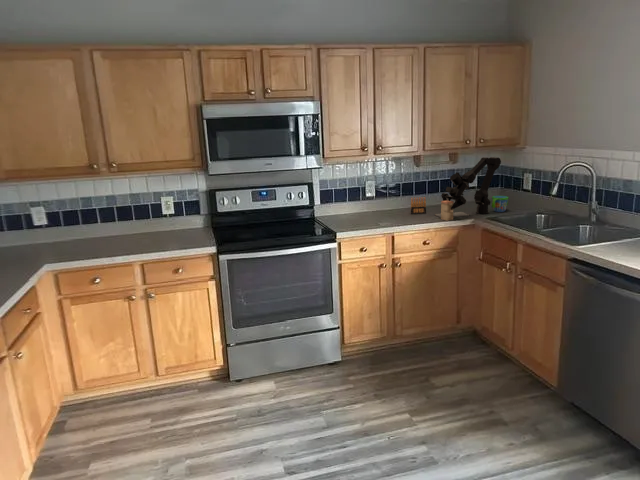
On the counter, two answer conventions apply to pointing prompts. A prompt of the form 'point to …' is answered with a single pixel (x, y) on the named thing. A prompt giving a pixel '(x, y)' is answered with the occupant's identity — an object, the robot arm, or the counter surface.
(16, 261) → the counter surface
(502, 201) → the snack cup
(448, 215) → the birch block
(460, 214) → the rubber mat
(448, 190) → the robot arm
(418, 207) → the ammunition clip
